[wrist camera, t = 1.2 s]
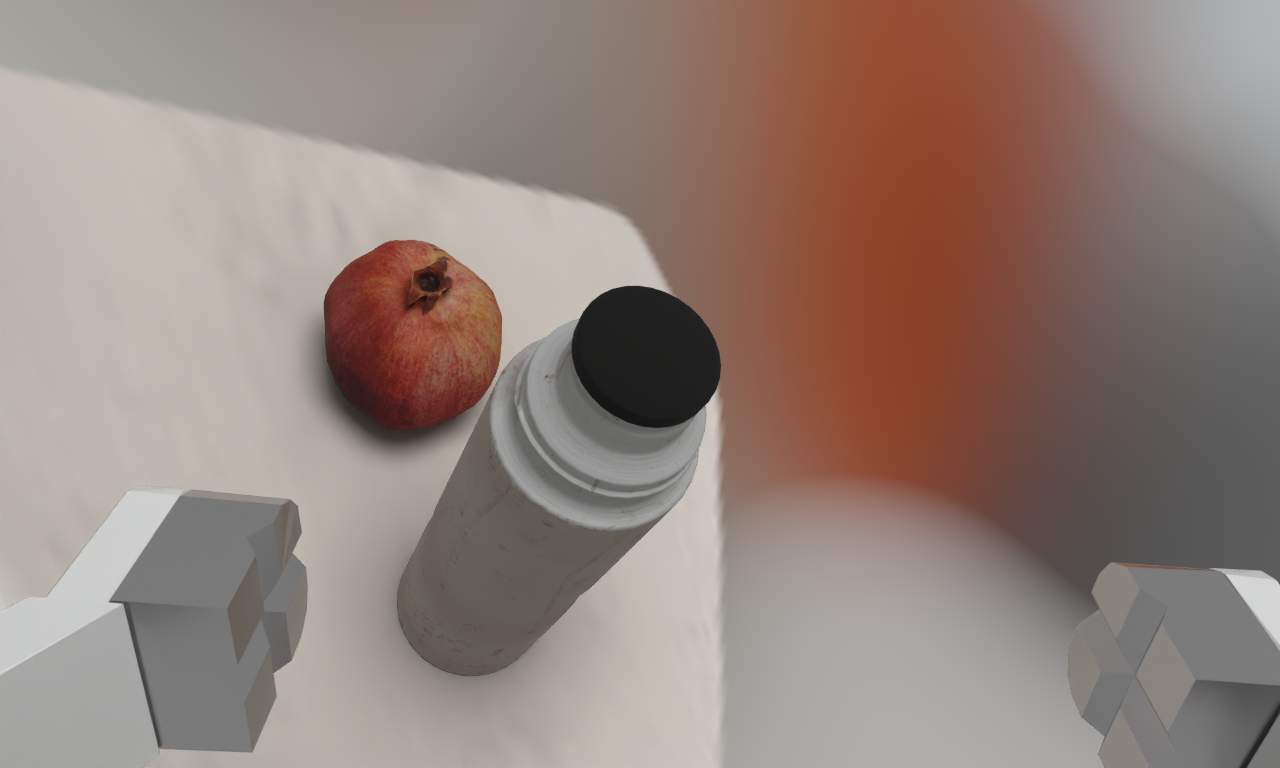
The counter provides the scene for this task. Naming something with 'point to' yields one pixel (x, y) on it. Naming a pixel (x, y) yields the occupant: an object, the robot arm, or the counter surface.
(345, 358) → the fruit
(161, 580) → the robot arm
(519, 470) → the thermos bottle
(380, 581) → the counter surface
